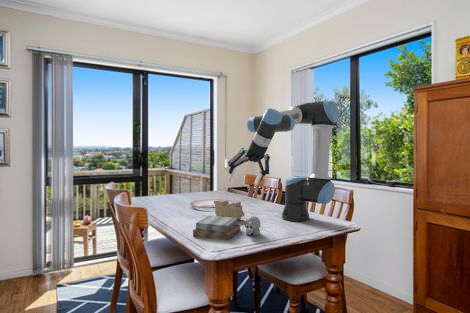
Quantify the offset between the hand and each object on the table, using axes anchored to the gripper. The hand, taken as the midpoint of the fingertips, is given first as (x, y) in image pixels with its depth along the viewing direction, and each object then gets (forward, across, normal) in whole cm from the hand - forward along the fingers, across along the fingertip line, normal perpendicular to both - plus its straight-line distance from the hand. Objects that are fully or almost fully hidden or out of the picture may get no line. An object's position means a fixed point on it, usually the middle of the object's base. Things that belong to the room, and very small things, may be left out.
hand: (242, 181), depth 145 cm
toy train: (+34, +9, +13) cm, 37 cm away
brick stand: (+24, -5, -10) cm, 27 cm away
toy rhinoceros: (+17, +7, -16) cm, 25 cm away
